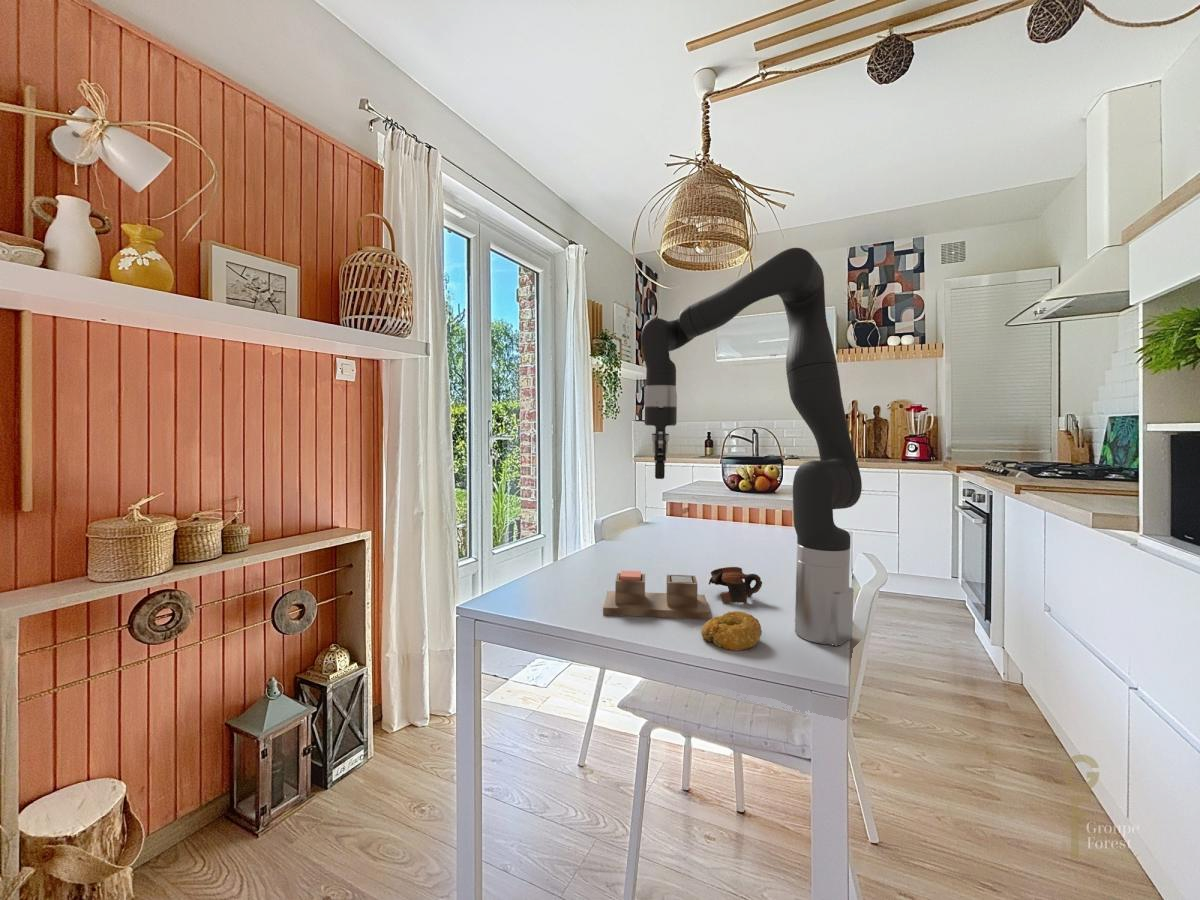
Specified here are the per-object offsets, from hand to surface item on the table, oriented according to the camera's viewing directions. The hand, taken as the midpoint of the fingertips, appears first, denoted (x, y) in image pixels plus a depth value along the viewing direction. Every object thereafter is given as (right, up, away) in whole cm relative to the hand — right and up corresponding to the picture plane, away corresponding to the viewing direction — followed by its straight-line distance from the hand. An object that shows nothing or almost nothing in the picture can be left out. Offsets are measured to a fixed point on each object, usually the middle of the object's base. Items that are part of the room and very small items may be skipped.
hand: (659, 478), depth 124 cm
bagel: (+10, -29, -27) cm, 41 cm away
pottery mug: (+17, -28, -3) cm, 33 cm away
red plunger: (-8, -25, -10) cm, 28 cm away
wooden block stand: (-2, -28, -11) cm, 30 cm away
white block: (+3, -26, -11) cm, 29 cm away
